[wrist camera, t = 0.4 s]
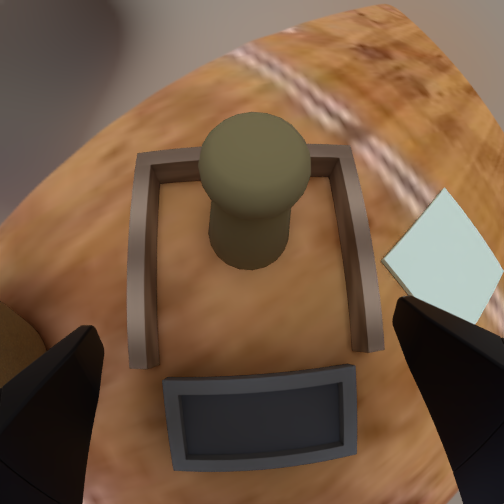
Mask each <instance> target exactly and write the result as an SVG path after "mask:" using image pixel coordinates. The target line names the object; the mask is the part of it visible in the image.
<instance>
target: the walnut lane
mask: <svg viewBox="0 0 504 504" xmlns="http://www.w3.org/2000/svg"><path fill="white" fill-rule="evenodd" d="M307 147H308V149H309V152H310V159H311V176H325V177H329V179H330V184H331V189H332V195H333V200H334V206H335V211H336V217H337V223H338V229H339V236H340V242H341V249H342V256H343V263H344V271H345V279H346V287H347V296H348V306H349V316H350V327H351V339H352V351H358V352H367V353H370V352H375V351H381V350H385V348H384V334H383V323H382V312H381V303H380V294H379V286H378V279H377V272H376V265H375V258H374V252H373V246H372V240H371V235H370V229H369V224H368V219H367V214H366V209H365V204H364V200H363V195H362V191H361V186H360V182H359V178H358V174H357V170H356V166H355V162H354V158H353V154H352V150H351V147H350V146H349V145H329V144H307ZM201 148H202V147H191V148H180V149H170V150H160V151H152V152H144V153H137V159H136V166H135V174H134V182H133V191H132V201H131V212H130V224H129V240H128V261H127V331H128V352H129V367H130V368H131V369H149V368H152V367H154V366H157V365H160V364H159V349H158V328H157V290H156V264H157V224H158V204H159V188H160V184H161V183H172V182H184V181H198V180H201V178H200V173H199V168H198V163H199V157H200V152H201Z"/></svg>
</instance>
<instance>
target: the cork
mask: <svg viewBox="0 0 504 504" xmlns="http://www.w3.org/2000/svg"><path fill="white" fill-rule="evenodd" d="M198 168H199V173H200V178H201V182H202V186H203V188H204V189H205V191H206V193H207V194H208V196H209V197H210V199H211V200H212V202H211V212H210V222H209V233H208V234H209V238H210V243H211V246H212V248H213V249H214V251H215V253H216V254H217V256H218V257H219V258H220V259H222V260H223V261H224V262H225V263H226V264H228V265H230V266H233V267H235V268H238V269H245V270H255V269H259V268H263V267H266V266H268V265H269V264H271V263H273V262H274V261H276V260H277V259H278V257H279V256H280V255H281V254H282V253H283V251H284V249H285V247H286V244H287V242H288V237H289V225H290V214H291V207H292V206H293V205H294V204H295V203H296V202H297V201H298V200H299V198H300V197H301V196H302V195H303V193H304V191H305V189H306V187H307V184H308V181H309V178H310V176H311V159H310V152H309V149H308V147H307V144H306V142H305V140H304V139H303V137H302V136H301V135H300V134H299V132H298V131H297V130H296V129H295V128H294V127H293V126H292V125H291V124H289V123H288V122H286V121H285V120H283V119H282V118H280V117H277V116H274V115H271V114H268V113H259V112H248V113H242V114H237V115H235V116H232V117H230V118H228V119H225V120H224V121H222V122H221V123H220V124H219V125H218V126H216V127H215V128H214V129H213V130H212V131H211V132H210V133H209V134H208V136H207V138H206V139H205V141H204V143H203V144H202V148H201V152H200V157H199V163H198Z"/></svg>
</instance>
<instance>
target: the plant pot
mask: <svg viewBox="0 0 504 504" xmlns="http://www.w3.org/2000/svg"><path fill="white" fill-rule="evenodd" d="M45 352H47V351H46V348H45V345H44V343H43V341H42V339H41V337H40V335H39V334H38V333H37V331H36V330H35V329H34V328H33V327H32V326H31V325H30V324H29V323H28V322H26V321H25V320H24V319H23V318H21V317H20V316H19V315H18V314H16V313H15V312H14V311H13V310H11V309H10V308H9V307H8V306H6V305H5V304H4V303H2V302H1V301H0V388H2V386H3V385H5V384H6V383H7V382H8V381H10V380H11V379H12V378H13V377H15V376H16V375H17V374H18V373H20V372H21V371H22V370H23V369H25V368H26V367H27V366H28V365H30V364H31V363H32V362H34V361H35V360H36V359H37V358H39V357H40V356H41V355H43V354H44V353H45Z"/></svg>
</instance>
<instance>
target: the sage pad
mask: <svg viewBox="0 0 504 504" xmlns="http://www.w3.org/2000/svg"><path fill="white" fill-rule="evenodd" d="M381 262H382V263H383V264H384V265H385V267H386V268H387V269H388V270H389V271H390V273H391V274H392V275H393V276H394V278H395V279H396V280H397V281H398V282H399V284H400V285H401V286H402V287H403V289H404V290H405V291H406V293H407V294H408V295H410V296H413V297H416V298H418V299H420V300H422V301H425V302H427V303H429V304H431V305H433V306H436V307H438V308H440V309H442V310H444V311H447V312H449V313H451V314H453V315H455V316H457V317H460V318H462V319H464V320H466V321H468V322H470V323H473V324H476V322H477V321H478V319H479V317H480V315H481V314H482V312H483V310H484V308H485V307H486V305H487V303H488V301H489V299H490V297H491V296H492V294H493V292H494V290H495V288H496V286H497V284H498V282H499V280H500V278H501V276H502V273H503V269H502V267H501V266H500V264H499V262H498V261H497V259H496V258H495V256H494V254H493V253H492V251H491V250H490V248H489V247H488V245H487V244H486V242H485V241H484V239H483V238H482V236H481V235H480V233H479V232H478V230H477V229H476V228H475V226H474V225H473V223H472V222H471V221H470V219H469V218H468V217H467V215H466V214H465V213H464V211H463V210H462V209H461V207H460V206H459V205H458V204H457V202H456V201H455V200H454V198H453V197H452V196H451V195H450V194H449V192H448V191H447V190H446V189H445V188H443V189H442V190H441V191H440V193H439V194H438V195H437V196H436V198H435V199H434V200H433V201H432V202H431V204H430V205H429V206H428V207H427V209H426V210H425V211H424V212H423V213H422V215H421V216H420V217H419V218H418V219H417V221H416V222H415V223H414V224H413V225H412V226H411V228H410V229H409V230H408V231H407V232H406V233H405V234H404V236H403V237H402V238H401V239H400V240H399V241H398V242H397V243H396V245H395V246H394V247H393V248H392V249H391V250H390V251H389V252H388V253H387V255H386V256H385V257H384V258H383V259H382V260H381Z"/></svg>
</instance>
